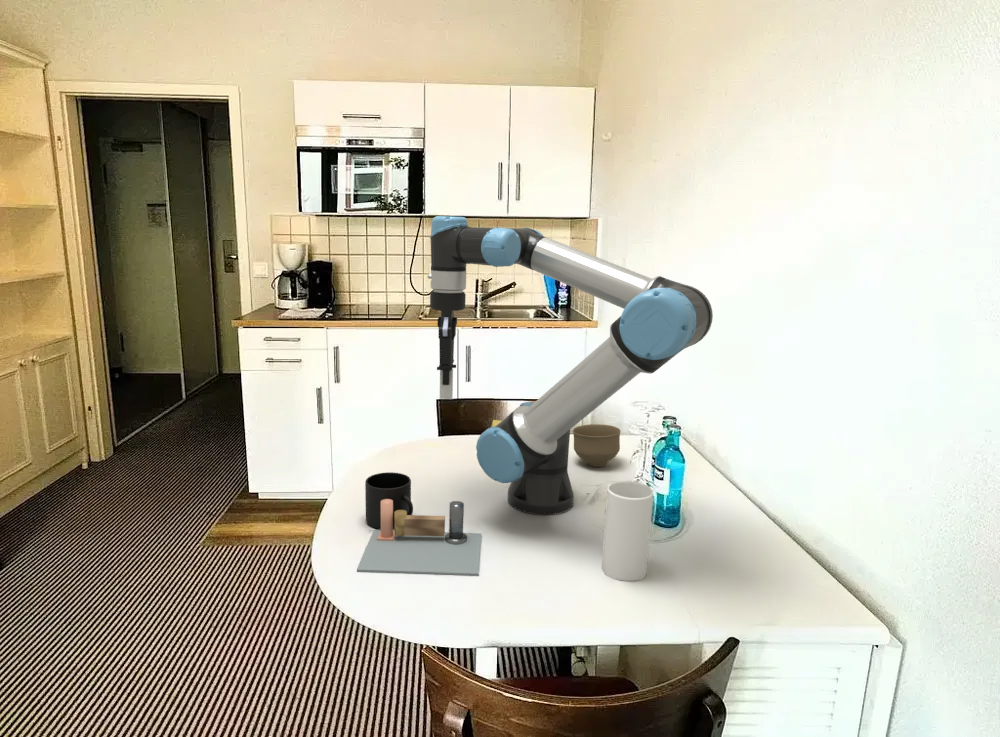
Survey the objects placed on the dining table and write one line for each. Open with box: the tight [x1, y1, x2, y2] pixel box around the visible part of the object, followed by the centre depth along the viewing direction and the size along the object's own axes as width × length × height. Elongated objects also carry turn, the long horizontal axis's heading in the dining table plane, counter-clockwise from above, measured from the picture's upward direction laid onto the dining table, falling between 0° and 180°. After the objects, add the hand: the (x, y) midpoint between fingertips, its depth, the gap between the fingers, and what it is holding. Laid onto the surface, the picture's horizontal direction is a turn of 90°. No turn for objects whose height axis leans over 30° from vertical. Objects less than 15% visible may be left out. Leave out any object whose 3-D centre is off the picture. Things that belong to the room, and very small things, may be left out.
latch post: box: [377, 499, 395, 541], centre depth 132 cm, size 3×3×8 cm
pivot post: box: [445, 500, 467, 545], centre depth 132 cm, size 4×4×8 cm
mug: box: [364, 471, 414, 530], centre depth 139 cm, size 9×12×9 cm
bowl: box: [572, 423, 622, 467], centre depth 178 cm, size 13×13×10 cm
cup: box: [601, 480, 654, 582], centre depth 122 cm, size 8×8×16 cm
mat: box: [356, 529, 482, 577], centre depth 128 cm, size 22×16×1 cm
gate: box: [394, 510, 446, 536], centre depth 132 cm, size 10×2×4 cm, turn 92°
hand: (446, 398), depth 146 cm, fingers closed
